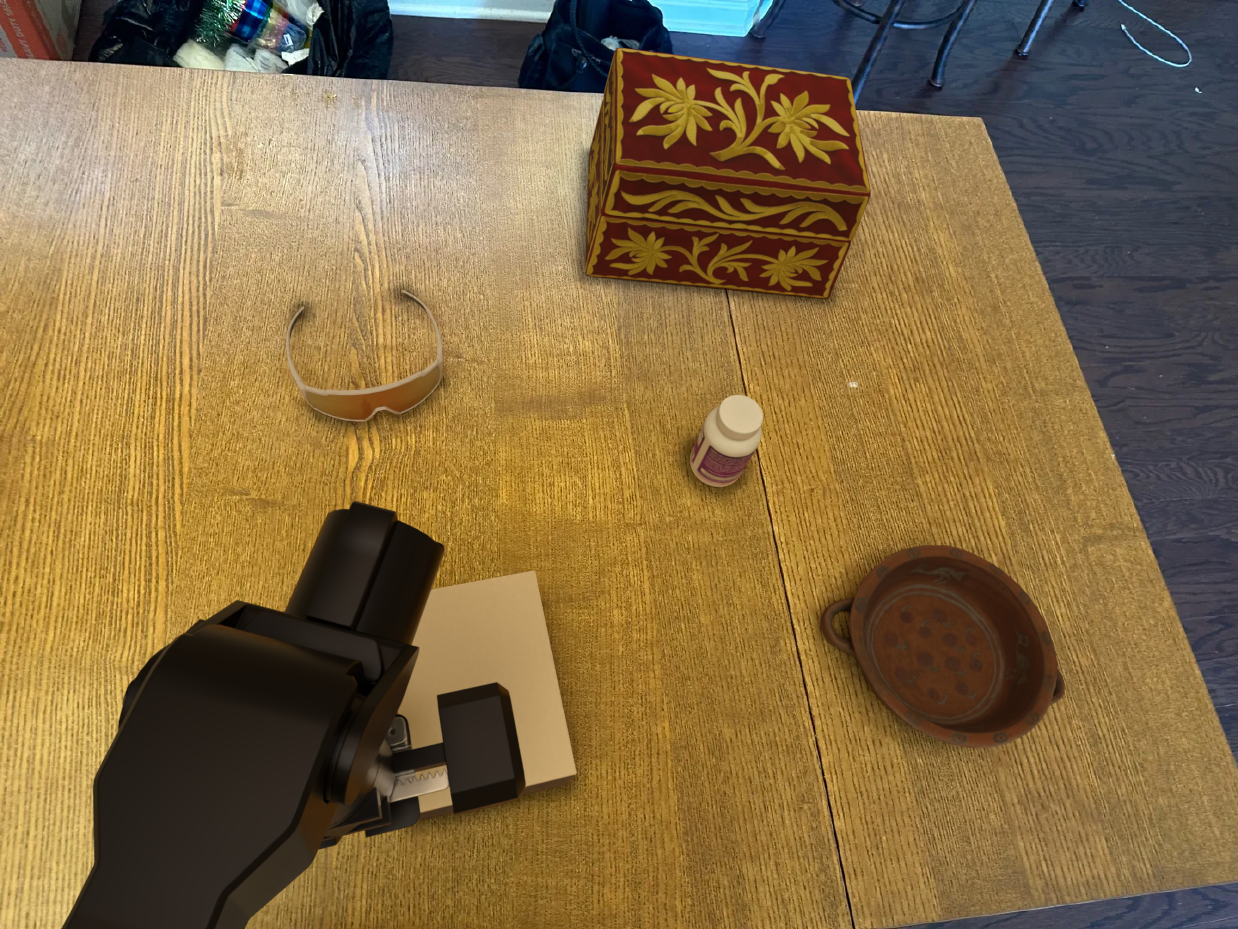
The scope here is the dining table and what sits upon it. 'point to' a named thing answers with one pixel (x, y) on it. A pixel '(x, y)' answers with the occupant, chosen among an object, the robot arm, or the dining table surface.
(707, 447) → the pill bottle
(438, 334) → the sunglasses
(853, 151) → the decorative box
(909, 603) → the dish
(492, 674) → the lid
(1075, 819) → the dining table surface
